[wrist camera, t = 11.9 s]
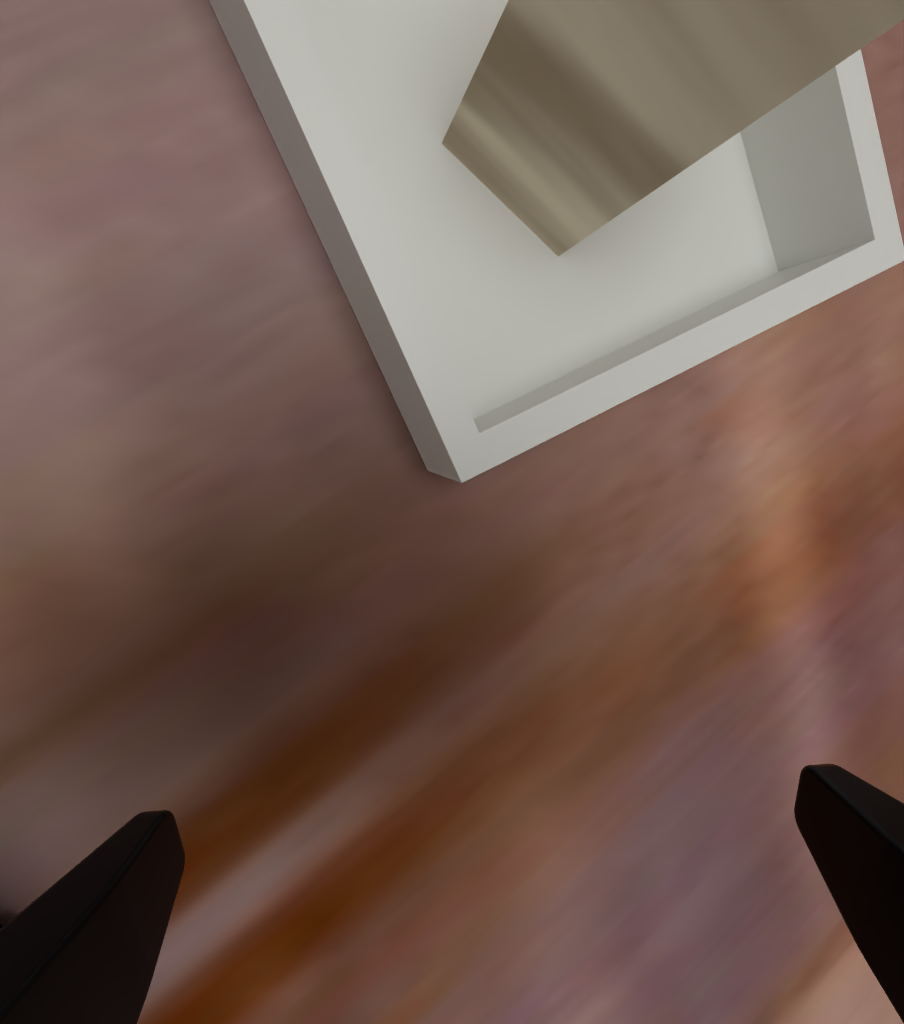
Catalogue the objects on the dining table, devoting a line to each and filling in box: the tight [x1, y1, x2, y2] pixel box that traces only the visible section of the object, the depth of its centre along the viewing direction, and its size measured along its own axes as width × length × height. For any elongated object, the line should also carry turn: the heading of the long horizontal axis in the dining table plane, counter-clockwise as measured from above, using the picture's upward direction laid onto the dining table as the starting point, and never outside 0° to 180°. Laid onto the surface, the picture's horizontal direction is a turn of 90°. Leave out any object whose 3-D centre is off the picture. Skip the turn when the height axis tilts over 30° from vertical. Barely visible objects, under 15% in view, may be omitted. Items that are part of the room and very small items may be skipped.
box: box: [209, 0, 904, 483], centre depth 17 cm, size 16×16×4 cm
